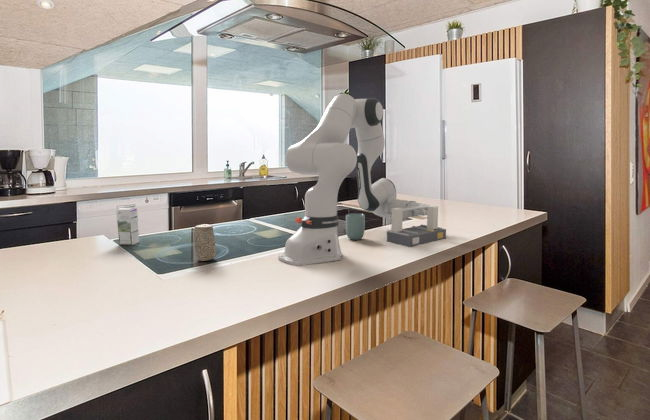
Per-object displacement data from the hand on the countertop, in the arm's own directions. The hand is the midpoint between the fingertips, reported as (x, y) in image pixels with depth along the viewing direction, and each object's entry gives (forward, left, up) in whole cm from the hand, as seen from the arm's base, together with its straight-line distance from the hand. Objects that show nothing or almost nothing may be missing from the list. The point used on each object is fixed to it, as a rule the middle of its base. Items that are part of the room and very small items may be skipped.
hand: (426, 213), depth 176 cm
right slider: (0, -3, -6) cm, 7 cm away
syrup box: (-98, +70, -10) cm, 121 cm away
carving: (-85, +25, -10) cm, 89 cm away
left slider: (-15, +2, -6) cm, 16 cm away
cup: (-24, +17, -10) cm, 31 cm away
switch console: (-7, -1, -10) cm, 12 cm away
